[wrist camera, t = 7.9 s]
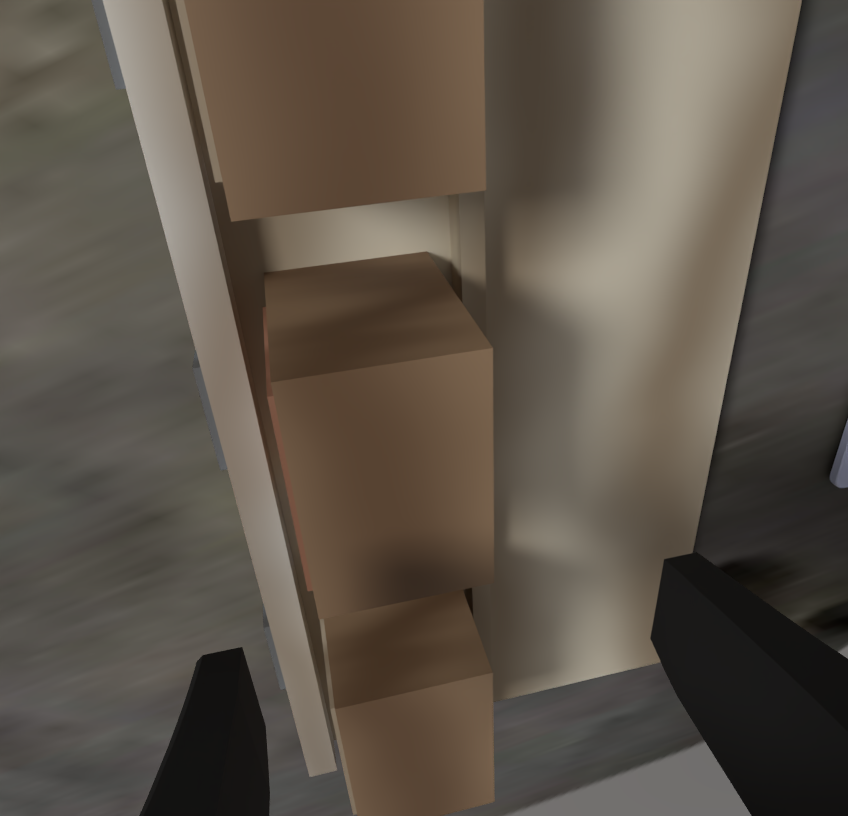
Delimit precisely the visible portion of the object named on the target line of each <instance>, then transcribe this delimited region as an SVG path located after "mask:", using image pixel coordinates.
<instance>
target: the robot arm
mask: <svg viewBox="0 0 848 816" xmlns="http://www.w3.org/2000/svg"><path fill="white" fill-rule="evenodd" d="M830 481H831V482H832V483H833V484H834V485H835V486H836V487H838V488H846V487H848V419H847V423H846V426H845V429H844V432H843V435H842V438H841V441H840V445H839V448H838V451H837V454H836V457H835V460H834V464H833V467H832V470H831V473H830ZM650 639H651V641H652V643H653V646H654V648H655V650H656V652H657V655H658V657H659V659H660V661H661V663H662V666H663V668H664V670H665V672H666V674H667V676H668V678H669V680H670V682H671V684H672V686H673V688H674V690H675V692H676V694H677V696H678V698H679V699H680V701H681V703H682V704H683V706H684V708H685V709H686V711H687V713H688V714H689V716H690V718H691V719H692V721H693V722H694V724H695V726H696V727H697V729H698V731H699V732H700V734H701V735H702V737H703V739H704V740H705V742H706V743H707V745H708V747H709V748H710V750H711V751H712V753H713V754H714V756H715V758H716V759H717V761H718V763H719V764H720V766H721V767H722V769H723V771H724V772H725V774H726V775H727V777H728V779H729V780H730V782H731V783H732V785H733V786H734V788H735V790H736V791H737V793H738V795H739V796H740V798H741V799H742V801H743V803H744V804H745V806H746V807H747V809H748V811H749V812H750V814H751V815H752V816H848V659H847V658H846V657H844V656H843V655H841V654H840V653H838V652H837V651H835V650H834V649H832V648H831V647H829V646H828V645H826V644H825V643H823V642H822V641H820V640H819V639H817V638H816V637H814V636H813V635H811V634H810V633H809V632H807V631H806V630H804V629H803V628H801V627H800V626H798V625H797V624H796V623H794V622H793V621H791V620H790V619H788V618H787V617H786V616H784V615H783V614H781V613H780V612H779V611H777V610H776V609H774V608H773V607H772V606H770V605H769V604H767V603H766V602H765V601H763V600H762V599H760V598H759V597H758V596H756V595H755V594H754V593H752V592H751V591H749V590H748V589H747V588H745V587H744V586H743V585H741V584H740V583H738V582H737V581H736V580H734V579H733V578H732V577H730V576H729V575H727V574H726V573H725V572H723V571H722V570H721V569H719V568H718V567H716V566H715V565H714V564H712V563H711V562H710V561H708V560H707V559H705V558H704V557H702V556H701V555H700V554H698V553H697V552H695V553H691V554H686V555H681V556H676V557H671V558H667V559H664V563H663V568H662V574H661V580H660V585H659V591H658V597H657V603H656V608H655V614H654V620H653V626H652V631H651V637H650ZM269 801H270V788H269V771H268V755H267V741H266V726H265V723H264V719H263V716H262V712H261V709H260V706H259V702H258V699H257V696H256V692H255V689H254V686H253V682H252V679H251V675H250V672H249V669H248V665H247V662H246V659H245V655H244V652H243V648H242V647H240V648H235V649H230V650H226V651H221V652H216V653H211V654H207V655H203V656H202V657H201V658H200V659H199V660H198V661H197V663H196V667H195V670H194V674H193V677H192V680H191V684H190V687H189V690H188V693H187V696H186V699H185V702H184V705H183V708H182V711H181V714H180V716H179V719H178V722H177V725H176V727H175V730H174V733H173V735H172V738H171V741H170V743H169V746H168V749H167V751H166V753H165V756H164V758H163V761H162V763H161V766H160V768H159V770H158V773H157V775H156V778H155V780H154V783H153V785H152V788H151V790H150V792H149V795H148V797H147V800H146V802H145V804H144V806H143V809H142V811H141V813H140V815H139V816H269Z"/></svg>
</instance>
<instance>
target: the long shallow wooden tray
mask: <svg viewBox="0 0 848 816" xmlns="http://www.w3.org/2000/svg"><path fill="white" fill-rule="evenodd" d="M483 2H484V75H485V148H486V190H485V191H477V192H469V193H460V194H452V195H444V196H436V197H428V198H420V199H412V200H404V201H395V202H387V203H379V204H371V205H363V206H355V207H347V208H338V209H330V210H322V211H314V212H306V213H298V214H290V215H282V216H273V217H265V218H257V219H249V220H241V221H233V222H231V219H230V214H229V209H228V205H227V200H226V195H225V191H224V186H223V182H217V183H215V179H214V175H213V170H212V166H211V161H210V156H209V152H208V147H207V143H206V138H205V134H204V129H203V124H202V120H201V115H200V111H199V106H198V102H197V97H196V92H195V88H194V83H193V79H192V74H191V69H190V65H189V60H188V56H187V51H186V47H185V42H184V37H183V33H182V28H181V24H180V19H179V15H178V10H177V5H176V1H175V0H92V4H93V7H94V11H95V15H96V18H97V22H98V26H99V29H100V33H101V37H102V40H103V44H104V48H105V51H106V55H107V58H108V62H109V66H110V69H111V73H112V77H113V80H114V84H115V88H116V89H126V90H127V94H128V97H129V101H130V105H131V109H132V112H133V116H134V120H135V124H136V127H137V131H138V135H139V139H140V142H141V146H142V150H143V154H144V157H145V161H146V165H147V169H148V172H149V176H150V180H151V184H152V187H153V191H154V195H155V199H156V202H157V206H158V210H159V214H160V217H161V221H162V225H163V229H164V232H165V236H166V240H167V244H168V247H169V251H170V255H171V259H172V262H173V266H174V270H175V274H176V277H177V281H178V285H179V289H180V292H181V296H182V300H183V304H184V307H185V311H186V315H187V319H188V322H189V326H190V330H191V334H192V337H193V341H194V345H195V349H196V350H195V354H194V361H193V368H192V369H193V372H194V376H195V379H196V383H197V387H198V390H199V394H200V398H201V401H202V405H203V409H204V412H205V416H206V420H207V423H208V427H209V431H210V434H211V438H212V441H213V445H214V449H215V452H216V456H217V460H218V463H219V467H220V470H226V469H228V472H229V476H230V480H231V483H232V487H233V491H234V495H235V498H236V502H237V506H238V510H239V513H240V517H241V521H242V525H243V528H244V532H245V536H246V540H247V543H248V547H249V551H250V555H251V558H252V562H253V566H254V570H255V573H256V577H257V581H258V585H259V588H260V592H261V596H262V600H263V624H264V631H265V635H266V638H267V642H268V646H269V649H270V653H271V657H272V660H273V664H274V668H275V671H276V675H277V679H278V682H279V686H280V689H281V690H282V689H286V690H287V693H288V697H289V701H290V705H291V708H292V712H293V716H294V720H295V723H296V727H297V731H298V735H299V738H300V742H301V746H302V750H303V753H304V757H305V761H306V765H307V768H308V772H309V776H310V777H312V776H316V775H320V774H324V773H328V772H332V771H336V770H337V765H336V757H335V748H334V740H337V738H336V733H335V729H334V724H333V720H332V715H331V710H330V703H329V694H328V686H327V677H326V669H325V660H324V651H323V643H322V634H321V626H320V620H319V618H318V613H317V608H316V603H315V598H314V593H313V591H307V586H306V581H305V576H304V571H303V567H302V562H301V557H300V552H299V548H298V543H297V538H296V533H295V528H294V524H293V519H292V514H291V509H290V504H289V500H288V495H287V490H286V485H285V481H284V476H283V471H282V466H281V461H280V457H279V452H278V447H277V442H276V437H275V433H274V428H273V423H272V418H271V414H270V409H269V404H268V399H267V386H266V367H265V347H264V328H263V308H262V307H266V300H265V284H264V273H265V272H273V271H281V270H288V269H296V268H304V267H311V266H319V265H326V264H334V263H342V262H349V261H357V260H365V259H372V258H380V257H388V256H395V255H403V254H410V253H418V252H426V251H427V252H428V254H429V255H430V257H431V258H432V260H433V261H434V263H435V264H436V266H437V267H438V269H439V270H440V271H441V273H442V274H443V276H444V277H445V279H446V280H447V282H448V283H449V285H450V286H451V287H452V289H453V290H454V292H455V293H456V295H457V296H458V298H459V299H460V301H461V302H462V304H463V305H464V306H465V308H466V309H467V311H468V312H469V314H470V315H471V317H472V318H473V320H474V321H475V322H476V324H477V325H478V327H479V328H480V330H481V331H482V333H483V334H484V336H485V337H486V339H487V340H488V341H489V343H490V344H491V346H492V347H493V456H494V583H492V584H487V585H482V586H477V587H473V588H468V589H463V592H464V594H465V597H466V600H467V603H468V606H469V608H470V611H471V614H472V617H473V619H474V622H475V625H476V628H477V631H478V633H479V636H480V639H481V642H482V644H483V647H484V650H485V653H486V656H487V658H488V661H489V664H490V667H491V669H492V672H493V702H496V701H500V700H505V699H509V698H513V697H517V696H521V695H525V694H530V693H534V692H538V691H542V690H546V689H551V688H555V687H559V686H563V685H567V684H571V683H576V682H580V681H584V680H588V679H592V678H596V677H601V676H605V675H609V674H613V673H617V672H621V671H626V670H630V669H634V668H638V667H642V666H646V665H651V664H655V663H659V662H661V661H660V659H659V657H658V655H657V652H656V650H655V648H654V646H653V643H652V641H651V639H650V637H651V631H652V626H653V620H654V614H655V608H656V603H657V597H658V591H659V585H660V580H661V574H662V568H663V563H664V559H667V558H671V557H676V556H681V555H686V554H691V553H693V548H694V543H695V538H696V533H697V528H698V523H699V518H700V513H701V508H702V503H703V498H704V493H705V488H706V483H707V478H708V473H709V468H710V462H711V457H712V452H713V447H714V442H715V437H716V432H717V427H718V422H719V417H720V412H721V407H722V402H723V397H724V392H725V387H726V382H727V377H728V372H729V367H730V361H731V356H732V351H733V346H734V341H735V336H736V331H737V326H738V321H739V316H740V311H741V306H742V301H743V296H744V291H745V286H746V281H747V276H748V271H749V266H750V261H751V255H752V250H753V245H754V240H755V235H756V230H757V225H758V220H759V215H760V210H761V205H762V200H763V195H764V190H765V185H766V180H767V175H768V170H769V165H770V160H771V154H772V149H773V144H774V139H775V134H776V129H777V124H778V119H779V114H780V109H781V104H782V99H783V94H784V89H785V84H786V79H787V74H788V69H789V64H790V59H791V53H792V48H793V43H794V38H795V33H796V28H797V23H798V18H799V13H800V8H801V3H802V0H483Z"/></svg>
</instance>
